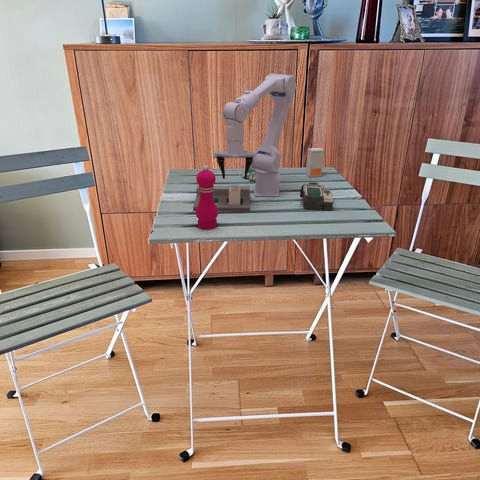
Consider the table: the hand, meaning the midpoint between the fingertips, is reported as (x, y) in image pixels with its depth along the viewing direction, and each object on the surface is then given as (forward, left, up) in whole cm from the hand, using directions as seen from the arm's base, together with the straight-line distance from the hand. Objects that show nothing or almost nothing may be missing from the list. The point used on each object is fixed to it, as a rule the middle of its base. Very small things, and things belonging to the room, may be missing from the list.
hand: (234, 178), depth 143 cm
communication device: (-31, -8, -11) cm, 34 cm away
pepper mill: (+8, +18, -10) cm, 23 cm away
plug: (0, 0, -10) cm, 10 cm away
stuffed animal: (-8, -33, -11) cm, 35 cm away
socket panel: (+4, -2, -10) cm, 11 cm away
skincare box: (-35, -37, -11) cm, 52 cm away
